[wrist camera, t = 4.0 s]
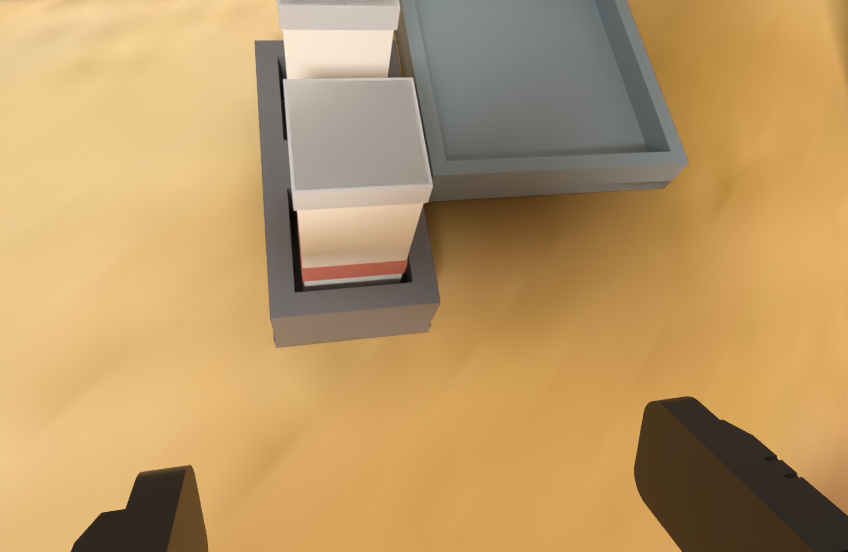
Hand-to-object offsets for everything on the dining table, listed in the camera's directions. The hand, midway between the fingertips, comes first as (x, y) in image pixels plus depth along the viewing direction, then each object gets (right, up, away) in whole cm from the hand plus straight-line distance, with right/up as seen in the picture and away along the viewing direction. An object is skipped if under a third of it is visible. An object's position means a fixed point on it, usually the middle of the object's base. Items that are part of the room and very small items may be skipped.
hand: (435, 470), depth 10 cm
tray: (+6, +15, +24) cm, 29 cm away
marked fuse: (-4, +4, +17) cm, 18 cm away
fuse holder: (-4, +7, +19) cm, 21 cm away
